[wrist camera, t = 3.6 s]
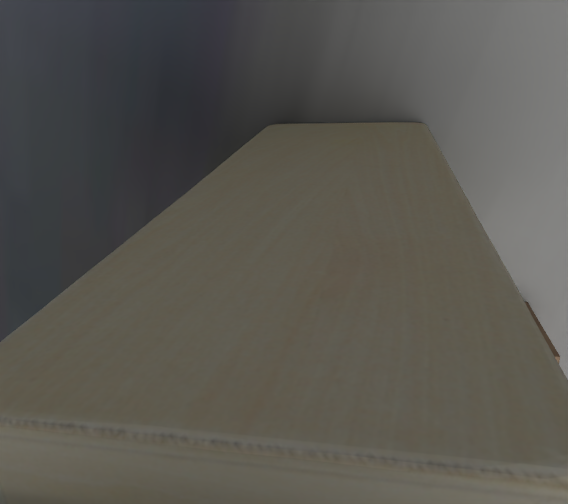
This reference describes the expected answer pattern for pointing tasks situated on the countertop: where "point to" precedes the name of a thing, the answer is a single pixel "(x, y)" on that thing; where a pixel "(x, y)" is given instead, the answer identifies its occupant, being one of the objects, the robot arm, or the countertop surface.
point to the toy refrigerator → (292, 345)
